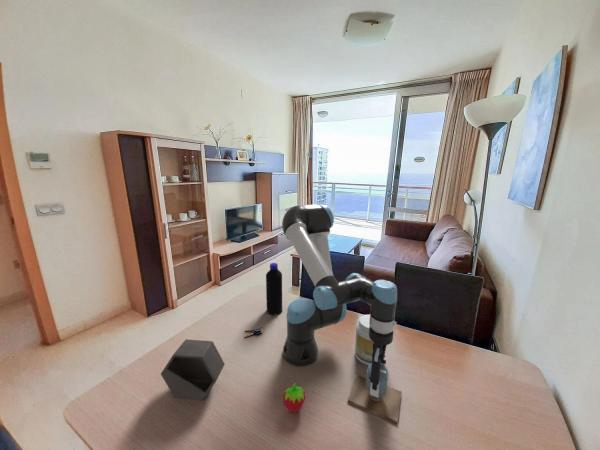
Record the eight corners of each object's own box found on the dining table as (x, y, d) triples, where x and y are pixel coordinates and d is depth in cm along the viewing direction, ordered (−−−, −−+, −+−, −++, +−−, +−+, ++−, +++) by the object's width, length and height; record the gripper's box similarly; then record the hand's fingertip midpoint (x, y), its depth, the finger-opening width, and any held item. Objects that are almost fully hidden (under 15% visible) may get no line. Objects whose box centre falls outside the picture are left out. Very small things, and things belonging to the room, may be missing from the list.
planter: (153, 384, 84) (180, 343, 79) (167, 367, 91) (192, 328, 86) (195, 410, 84) (223, 370, 80) (205, 390, 92) (232, 353, 87)
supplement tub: (388, 366, 98) (392, 330, 95) (359, 368, 98) (362, 331, 94) (377, 345, 110) (380, 312, 107) (351, 346, 109) (353, 313, 106)
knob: (364, 390, 82) (365, 372, 81) (368, 376, 88) (369, 359, 86) (384, 399, 79) (386, 380, 78) (387, 383, 85) (389, 366, 83)
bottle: (279, 316, 132) (279, 268, 126) (264, 314, 134) (263, 266, 128) (284, 307, 141) (283, 262, 135) (269, 305, 142) (268, 260, 136)
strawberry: (282, 402, 83) (282, 377, 81) (303, 400, 84) (304, 376, 81) (283, 419, 77) (283, 393, 75) (306, 417, 78) (306, 391, 76)
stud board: (347, 402, 83) (348, 388, 82) (356, 376, 94) (357, 364, 92) (397, 424, 76) (399, 410, 75) (401, 394, 86) (402, 381, 85)
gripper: (389, 350, 69) (382, 416, 73) (397, 315, 86) (391, 370, 90) (362, 341, 72) (358, 405, 77) (375, 310, 89) (371, 363, 94)
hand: (376, 386), depth 84 cm, fingers closed on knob, 7 cm apart
